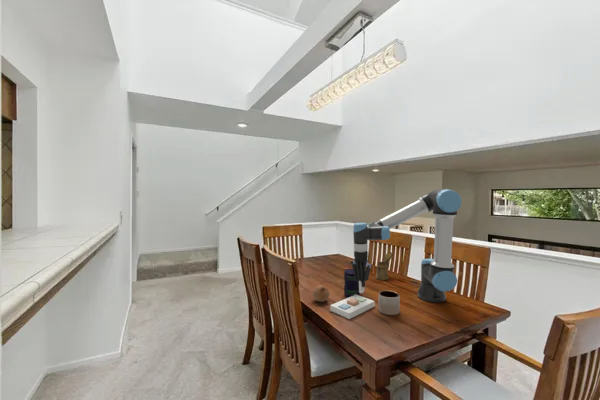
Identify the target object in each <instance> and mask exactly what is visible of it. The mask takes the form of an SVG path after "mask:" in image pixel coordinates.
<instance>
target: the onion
mask: <svg viewBox="0 0 600 400" xmlns="http://www.w3.org/2000/svg"><path fill="white" fill-rule="evenodd" d="M312 296H313V298H314V300H315V302H318V303H325V302H326V301H327V300H328V298H329V296H330V291H329V289H328V288H327V286H325V285H317V286H315V288H314V289H313V292H312Z"/></svg>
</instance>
